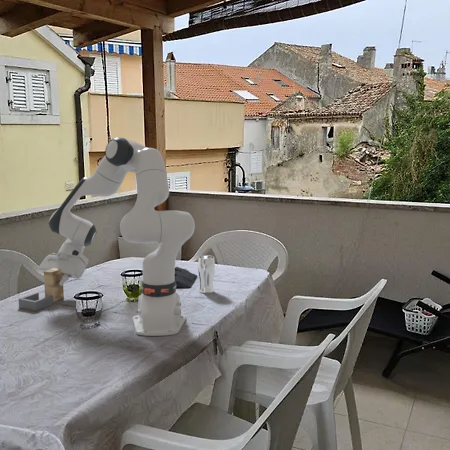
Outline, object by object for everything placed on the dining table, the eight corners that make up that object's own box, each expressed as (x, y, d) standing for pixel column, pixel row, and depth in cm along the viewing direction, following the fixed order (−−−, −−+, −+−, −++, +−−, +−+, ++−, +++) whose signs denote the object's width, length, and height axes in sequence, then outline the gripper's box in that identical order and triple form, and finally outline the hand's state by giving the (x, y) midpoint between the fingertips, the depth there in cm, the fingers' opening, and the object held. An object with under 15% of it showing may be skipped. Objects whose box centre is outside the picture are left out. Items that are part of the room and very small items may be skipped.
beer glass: (215, 289, 216) (215, 255, 213) (213, 294, 209) (213, 259, 206) (199, 288, 216) (199, 254, 214) (197, 293, 209) (196, 258, 207)
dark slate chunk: (156, 289, 217) (156, 278, 217) (166, 275, 239) (166, 265, 238) (191, 289, 216) (191, 279, 215) (198, 276, 238) (198, 266, 237)
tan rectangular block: (56, 296, 205) (54, 267, 203) (63, 297, 203) (62, 268, 201) (45, 300, 199) (43, 271, 197) (52, 301, 197) (51, 272, 195)
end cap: (37, 301, 198) (36, 292, 198) (53, 304, 195) (53, 295, 194) (19, 307, 190) (18, 298, 190) (35, 311, 187) (35, 302, 186)
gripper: (45, 248, 209) (28, 276, 201) (84, 253, 200) (68, 283, 193) (54, 256, 213) (37, 284, 206) (92, 261, 205) (76, 291, 197)
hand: (52, 284), depth 199 cm, fingers open, 5 cm apart
